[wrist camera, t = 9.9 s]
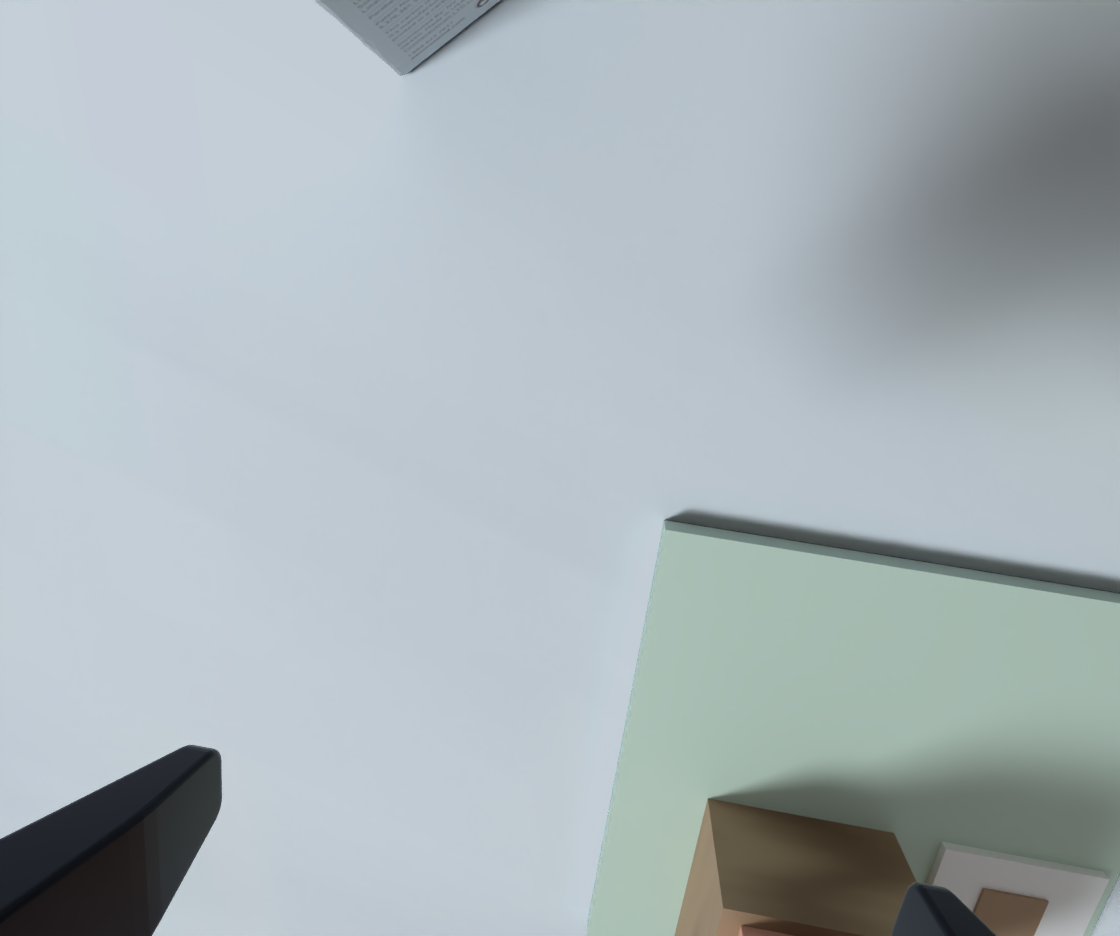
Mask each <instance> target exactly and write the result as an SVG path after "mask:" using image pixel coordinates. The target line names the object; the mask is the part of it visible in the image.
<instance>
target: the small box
mask: <svg viewBox="0 0 1120 936" xmlns="http://www.w3.org/2000/svg"><path fill="white" fill-rule="evenodd" d="M314 1H315V2H316V3H317V4H319V5H320V6H321V7H322V8H323V9H324V10H326V11H327V12H328V13H329V14H330V15H331V16H333V17H334V18H335V19H336V20H337V21H338V22H340V23H341V24H342V25H343V26H344V27H345V28H346V29H347V30H349V31H350V32H351V33H352V34H353V35H354V36H355V37H356V38H358V39H359V40H360V41H361V42H362V43H363V44H364V45H365V46H366V47H367V48H369V49H370V50H371V51H372V52H373V53H374V54H376V55H377V56H378V57H379V58H380V59H381V60H383V61H384V62H385V63H386V64H388V65H389V66H390V67H391V68H392V69H393V70H394V71H395V72H396V73H397V74H398V75H400V76H401V75H405V74H407V73H408V72H410V71H411V70H412V69H413V68H415V67H416V66H417V65H418V64H420V63H421V62H422V61H423V60H425V59H426V58H428V57H429V56H430V55H431V54H433V53H434V52H435V51H436V50H438V49H439V48H440V47H441V46H443V45H444V44H445V43H446V42H448V41H449V40H450V39H452V38H453V37H455V36H456V35H457V34H458V33H460V32H461V31H462V30H463V29H464V28H466V27H467V26H468V25H469V24H471V23H472V22H473V21H475V20H476V19H477V18H479V17H480V16H481V15H482V14H484V13H485V12H486V11H487V10H489V9H490V8H491V7H492V6H494V5H495V4H496V3H497V2H499V1H500V0H314Z"/></svg>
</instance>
